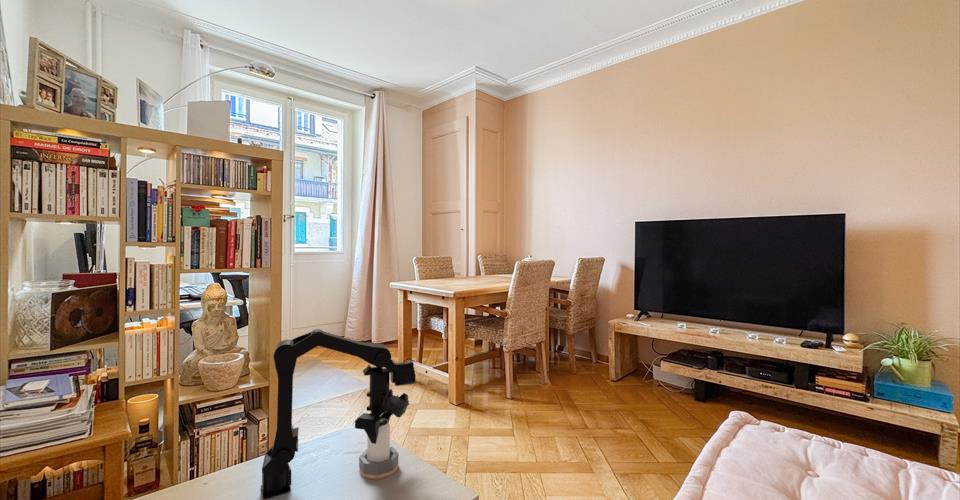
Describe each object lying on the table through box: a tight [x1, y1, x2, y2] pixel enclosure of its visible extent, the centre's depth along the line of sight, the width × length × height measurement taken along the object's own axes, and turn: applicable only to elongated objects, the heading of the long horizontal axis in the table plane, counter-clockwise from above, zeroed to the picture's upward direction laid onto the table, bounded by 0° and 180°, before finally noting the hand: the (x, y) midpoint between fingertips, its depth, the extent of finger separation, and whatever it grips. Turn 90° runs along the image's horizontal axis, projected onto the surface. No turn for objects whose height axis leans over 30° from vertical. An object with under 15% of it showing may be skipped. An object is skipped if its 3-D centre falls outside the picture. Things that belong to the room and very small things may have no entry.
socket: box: [358, 446, 399, 480], centre depth 119 cm, size 11×11×4 cm
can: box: [366, 418, 391, 463], centre depth 119 cm, size 6×6×12 cm
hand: (378, 440), depth 119 cm, fingers closed on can, 5 cm apart
